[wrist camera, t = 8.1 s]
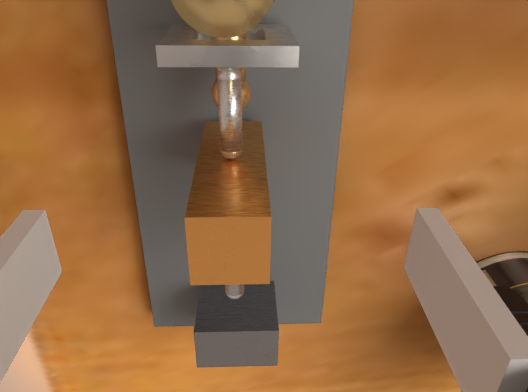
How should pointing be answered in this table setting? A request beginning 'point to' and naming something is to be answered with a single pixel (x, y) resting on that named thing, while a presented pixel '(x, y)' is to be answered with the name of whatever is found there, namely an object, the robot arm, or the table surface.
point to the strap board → (258, 109)
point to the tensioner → (236, 327)
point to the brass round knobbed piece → (224, 25)
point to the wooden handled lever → (229, 158)
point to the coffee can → (508, 271)
